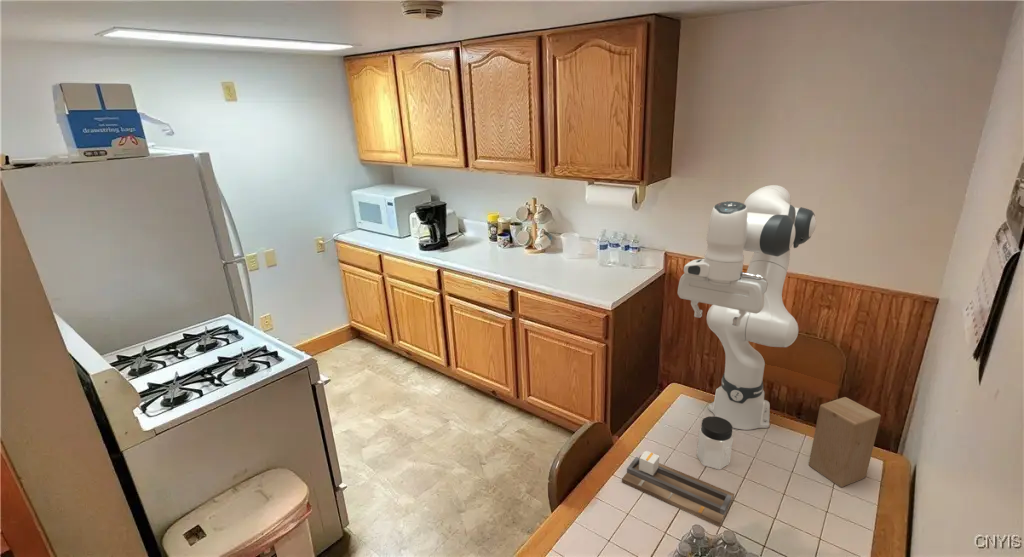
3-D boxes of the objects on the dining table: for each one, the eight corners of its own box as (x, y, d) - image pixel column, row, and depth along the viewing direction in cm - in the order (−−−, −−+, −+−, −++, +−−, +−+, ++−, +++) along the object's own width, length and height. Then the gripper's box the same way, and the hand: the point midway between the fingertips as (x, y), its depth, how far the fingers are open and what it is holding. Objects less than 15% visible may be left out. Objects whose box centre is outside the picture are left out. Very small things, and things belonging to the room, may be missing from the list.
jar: (715, 473, 139) (720, 437, 135) (691, 458, 145) (694, 422, 142) (734, 461, 144) (739, 425, 140) (710, 446, 150) (714, 412, 146)
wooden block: (841, 488, 132) (855, 424, 126) (807, 465, 141) (819, 404, 135) (866, 477, 136) (882, 414, 130) (832, 455, 145) (845, 395, 138)
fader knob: (644, 466, 140) (645, 449, 139) (658, 471, 138) (659, 455, 136) (638, 474, 137) (639, 457, 136) (652, 480, 135) (653, 463, 133)
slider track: (640, 458, 146) (640, 451, 145) (733, 497, 130) (734, 489, 129) (621, 482, 137) (622, 474, 136) (719, 526, 121) (721, 517, 120)
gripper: (771, 272, 119) (763, 326, 123) (686, 259, 131) (681, 308, 135) (765, 279, 114) (757, 335, 118) (677, 265, 126) (673, 316, 130)
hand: (716, 320), depth 127 cm, fingers open, 8 cm apart
